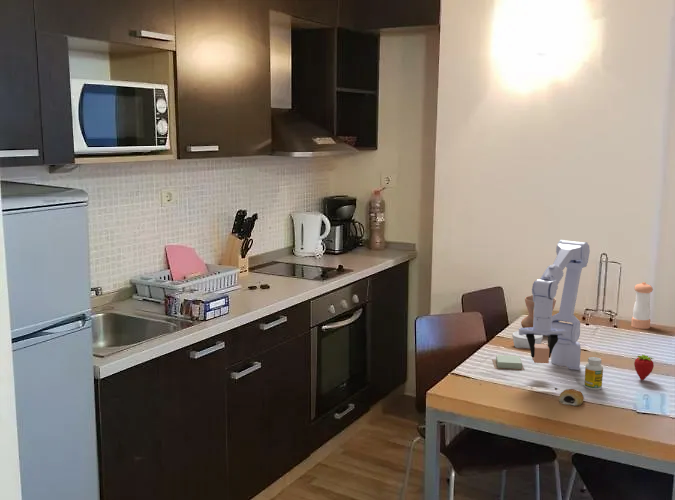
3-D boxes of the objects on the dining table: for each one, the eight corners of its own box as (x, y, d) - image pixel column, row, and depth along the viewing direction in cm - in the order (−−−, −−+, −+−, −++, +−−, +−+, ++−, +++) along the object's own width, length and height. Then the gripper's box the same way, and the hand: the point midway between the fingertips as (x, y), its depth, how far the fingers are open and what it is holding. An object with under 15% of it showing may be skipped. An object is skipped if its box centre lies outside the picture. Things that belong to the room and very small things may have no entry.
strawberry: (651, 377, 233) (653, 348, 231) (653, 385, 226) (656, 355, 224) (632, 375, 235) (634, 346, 233) (633, 382, 228) (636, 353, 226)
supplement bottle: (591, 383, 227) (593, 355, 226) (605, 388, 223) (607, 359, 221) (580, 386, 224) (582, 357, 223) (594, 391, 220) (596, 362, 218)
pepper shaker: (629, 323, 298) (632, 280, 294) (646, 324, 297) (650, 280, 293) (633, 328, 290) (637, 283, 287) (652, 329, 290) (655, 284, 286)
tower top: (519, 361, 244) (519, 356, 244) (521, 369, 236) (522, 363, 236) (496, 360, 245) (496, 355, 245) (497, 367, 238) (498, 362, 237)
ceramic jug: (526, 323, 297) (528, 291, 294) (561, 328, 289) (563, 295, 287) (515, 335, 281) (516, 301, 279) (551, 340, 274) (553, 305, 272)
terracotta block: (546, 358, 230) (546, 344, 229) (548, 363, 225) (549, 348, 224) (532, 358, 230) (532, 343, 229) (534, 362, 226) (535, 348, 225)
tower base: (520, 366, 246) (520, 360, 245) (524, 375, 236) (524, 370, 235) (491, 364, 247) (491, 359, 246) (494, 374, 237) (494, 368, 237)
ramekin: (509, 350, 261) (510, 336, 260) (513, 341, 272) (514, 328, 271) (540, 353, 257) (541, 340, 256) (543, 345, 267) (544, 332, 267)
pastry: (564, 394, 218) (565, 382, 218) (587, 398, 215) (588, 386, 214) (557, 403, 210) (558, 391, 210) (580, 408, 207) (581, 396, 206)
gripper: (521, 318, 222) (519, 359, 224) (568, 320, 220) (565, 361, 223) (518, 313, 229) (516, 352, 231) (563, 314, 227) (561, 354, 230)
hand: (540, 356), depth 227 cm, fingers closed on terracotta block, 4 cm apart
